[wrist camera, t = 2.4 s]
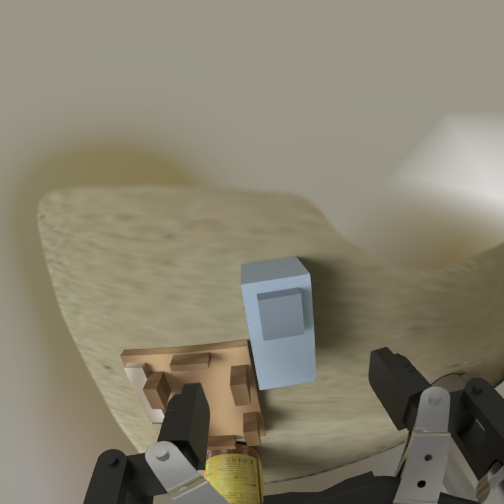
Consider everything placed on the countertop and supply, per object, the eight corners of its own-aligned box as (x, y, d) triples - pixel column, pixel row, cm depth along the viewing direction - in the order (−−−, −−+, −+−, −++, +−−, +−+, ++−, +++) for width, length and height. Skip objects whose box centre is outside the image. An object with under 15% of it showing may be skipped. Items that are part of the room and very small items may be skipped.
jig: (247, 339, 21) (247, 364, 18) (265, 428, 23) (267, 454, 20) (124, 349, 21) (109, 371, 18) (164, 433, 23) (157, 456, 20)
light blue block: (295, 255, 20) (314, 278, 14) (303, 348, 22) (319, 389, 16) (241, 264, 20) (240, 290, 14) (256, 355, 22) (260, 399, 16)
